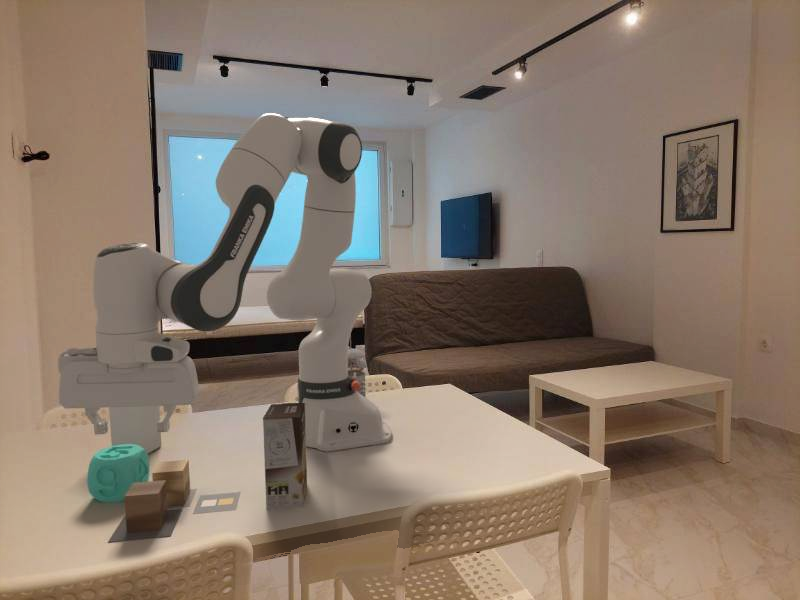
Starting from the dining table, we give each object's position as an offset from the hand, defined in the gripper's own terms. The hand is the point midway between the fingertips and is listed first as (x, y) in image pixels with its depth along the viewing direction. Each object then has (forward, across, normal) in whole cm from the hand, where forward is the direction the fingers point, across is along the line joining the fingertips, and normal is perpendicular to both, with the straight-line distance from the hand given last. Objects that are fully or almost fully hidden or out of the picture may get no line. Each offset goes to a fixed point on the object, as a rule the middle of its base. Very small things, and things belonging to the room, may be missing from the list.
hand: (132, 432), depth 90 cm
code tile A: (+15, +12, +4) cm, 20 cm away
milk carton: (+17, -10, +33) cm, 39 cm away
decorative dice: (+16, -6, +12) cm, 21 cm away
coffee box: (+15, +24, +5) cm, 29 cm away
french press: (+16, +38, +64) cm, 77 cm away
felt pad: (+15, +2, -2) cm, 15 cm away
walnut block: (+15, +2, -2) cm, 15 cm away
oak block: (+15, +4, +7) cm, 17 cm away
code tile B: (+15, +4, +7) cm, 17 cm away
